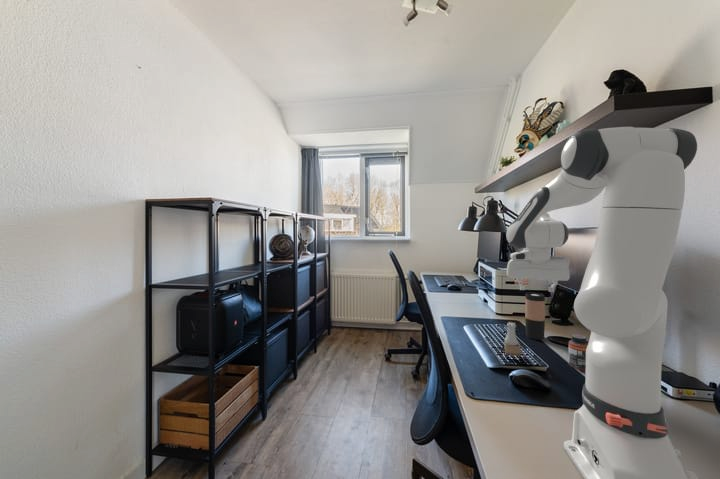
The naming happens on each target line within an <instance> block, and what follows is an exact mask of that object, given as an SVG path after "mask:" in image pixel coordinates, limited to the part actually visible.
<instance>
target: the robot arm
mask: <svg viewBox="0 0 720 479" xmlns="http://www.w3.org/2000/svg"><path fill="white" fill-rule="evenodd" d="M697 152H698V141H697V138H696V136H695V134H694V133H692V132H690V131H688V130H685V129H681V128H676V127H675V128H674V127H665V128H659V127H658V128H657V127H655V128H654V127H634V126H617V127H606V128H599V129H597V128H596V127H594V128H589V129H583V130H580V131H577V132H575V133H573V134H572V135H571V136H570V137H569V138H568V139H567V140H566V142H565V143H564V145H563V148H562V150H561V156H560V166H561V170H560V171H559V173H558V175H557V176H556V177H555V178H553V179H552V180H551V181H550V182H548V184H546V185H544V186H543V187H540V188H539V189H538V190H537V191H536V192H535V193H534V194H533V195H532V197H531V198H530V199H529V201H528V202H527V204H526V205H525V206H524V208H523V209H522V210H521V211H520V213H519V214H518V215H517V217H516V218H515V219H514V220H513V221H511V223H510V224H509V225H508V227H507V228H506V232H505V233H506V234H505V235H506V236H505V237H506V241H507V243H508V244H509V245H510V246H512V247H513V248H514V249H517V250H518V249H522V250H519V251H516V252H512V253H510V255H509V257H510V259H509V260H508V262H507V265H506V276H507V277H508V278H509V279H516V282H517V283H518V285H519V290H520V291H526V289H525V288H526V286H525V285H524V284H522V280H523V279H525V280H526V279H527V280H541V281H543V280H544V281H551V283H552V284H551V286H548V287H547V288H548V290H547V291H548V292H549V293H554V292H555V288H556V286H558V284H559V281H561V282H562V281H563V282H567V281H569V280H570V277H571V275H570V274H571V273H570V269H569V267H570V265H571V263H570V262H571V261H570V258H569V257H567V256H565V255H554V254H553V255H551V252H552V251H551V248H553V249H554V248H561V247H562V246H564V245H565V244H566V243H567V241H568V240H569V234H570V233H569V228H568V226H567V225H566V224H565V223H564V222H563V221H561V220H556V219H553V218H552V217H551V216H550V214H549V212H552V211H556V210H559V209H565V208H570V207H575V206H580V205H584V204H587V203H589V202H591V201H593V200H594V199H595V198H597V197H598V196H599V195H601V193H602V192H603V191H604V193H603V198H602V202H601V208H600V212H599V213H600V215H599V219H598V224H597V231H596V238H595V241H594V246H593V249H592V252H591V255H590V257H589V260H588V263H587V266H586V269H585V272H584V275H583V278H582V282H581V284H580V288H579V290H578V294H577V295H576V297H575V299H574V303H573V310H574V313H575V316H576V318H577V319H578V321H579V323H580V324H582V326H584V327H585V328H586V329H587V330H589V331H590V336H589V339H588V342H587V343H588V346H587V348H586V371H585V383H584V384H583V385H582V391H581V395H582V403H583V404H582V406H581V407H579V408H578V409H576V410H575V411H574V413H573V421H572V422H573V423H572V434H571V435H572V436H571V439H569V440H568V439H567V440H565V441H564V442H563V449H564V450H565V452H566V453H567V455H568V457H569V458H570V460H571V461H572V462H573V464H574V465H575V467H576V468H577V470H578V472H579V473H580V474H581V476H582V477H583V479H699V478H698V476H697V474H696V473H695V472H694V471H690V470H688V469H684V467H683V465H682V463H681V460H680V459H682V453H681V451H680V449H677V448H675V447H674V445H673V443H672V441H671V438H670V436H669V435H668V434H669V431H668V426H667V424H668V423H667V418H666V415H665V412H664V408H663V406H662V403H661V402H662V400H661V399H662V396H661V395H662V394H661V393H662V365H663V356H664V349H665V341H666V329H667V320H668V318H667V317H668V305H669V304H668V298H667V295H666V293H665V291H664V290H663V287H664V284H665V280H666V277H667V273H668V270H669V267H670V264H671V262H672V258H673V256H674V254H675V253H674V252H675V248H676V244H677V239H678V234H679V228H680V224H681V218H682V213H683V206H684V203H685V202H684V201H685V192H686V188H685V187H686V177H685V176H686V175H685V170H686V169H687V168H688V167H689V166H690V164H692V162H693V160H695V157H696V155H697Z"/></svg>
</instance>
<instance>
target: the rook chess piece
mask: <svg viewBox="0 0 720 479" xmlns="http://www.w3.org/2000/svg"><path fill="white" fill-rule="evenodd" d="M506 326H507V333H506V337H505V338H504V340H506V341H505V343H506V344H508V345H512V346H516V345H517V344H518V343H517V342H519V341H518V339H517V337H516V336H517V335H516V327H517V325H516V322H512V321H508V322H507V324H506Z"/></svg>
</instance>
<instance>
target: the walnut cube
mask: <svg viewBox="0 0 720 479" xmlns="http://www.w3.org/2000/svg"><path fill="white" fill-rule="evenodd" d="M503 341H504V343H503V344H504V349H505V354H511V355H516V356H521V357H522V355H521V354H522V350H521V348H522V347H521V345H520V344H521V343H520V342H519V341H518V342H517V343H518V344H517V345H516V346H512V345H508V344H506V343H505V341H506V340H505V339H504V340H503Z"/></svg>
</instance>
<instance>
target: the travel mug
mask: <svg viewBox="0 0 720 479" xmlns="http://www.w3.org/2000/svg"><path fill="white" fill-rule="evenodd" d="M524 311H525V313H524V315H525V316H524V318H525V320H524V321H525V322H524V323H525V336H526V337H527V338H528V337H530V338H529V339H531V338H532V339H531V340H537V341H542V340H544V339H545V327H546V295H544V294H543V293H538V292H532V291H531V292H525V309H524Z"/></svg>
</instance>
